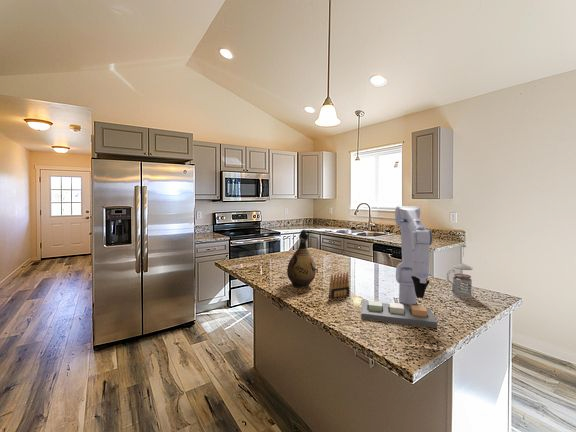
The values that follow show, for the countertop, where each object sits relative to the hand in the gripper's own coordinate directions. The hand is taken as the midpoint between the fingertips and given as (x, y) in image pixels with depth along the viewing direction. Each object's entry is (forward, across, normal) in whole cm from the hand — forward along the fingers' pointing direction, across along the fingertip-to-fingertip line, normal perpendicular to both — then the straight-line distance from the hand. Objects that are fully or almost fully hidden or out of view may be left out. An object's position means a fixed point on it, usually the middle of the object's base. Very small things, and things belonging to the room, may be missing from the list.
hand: (419, 296), depth 108 cm
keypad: (+9, 0, +8) cm, 12 cm away
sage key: (+8, 0, +16) cm, 18 cm away
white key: (+8, 0, +8) cm, 12 cm away
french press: (+10, +39, -24) cm, 47 cm away
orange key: (+8, 0, 0) cm, 8 cm away
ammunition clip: (+10, +16, +32) cm, 37 cm away
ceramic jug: (+10, +30, +54) cm, 63 cm away
